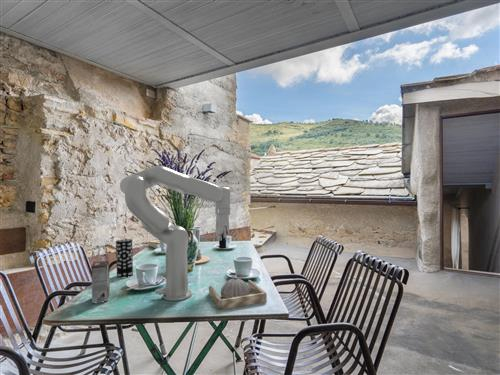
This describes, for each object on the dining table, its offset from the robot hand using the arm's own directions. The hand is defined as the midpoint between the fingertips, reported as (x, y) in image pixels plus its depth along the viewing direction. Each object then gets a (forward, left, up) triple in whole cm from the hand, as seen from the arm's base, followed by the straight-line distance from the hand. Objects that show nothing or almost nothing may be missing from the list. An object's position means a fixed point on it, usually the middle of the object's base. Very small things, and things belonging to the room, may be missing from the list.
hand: (222, 248), depth 145 cm
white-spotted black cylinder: (-47, +37, -18) cm, 63 cm away
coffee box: (-55, +3, -18) cm, 58 cm away
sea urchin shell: (0, -19, -18) cm, 26 cm away
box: (+1, -19, -18) cm, 26 cm away
